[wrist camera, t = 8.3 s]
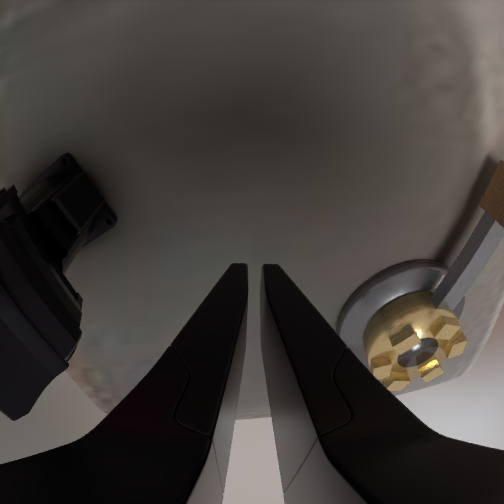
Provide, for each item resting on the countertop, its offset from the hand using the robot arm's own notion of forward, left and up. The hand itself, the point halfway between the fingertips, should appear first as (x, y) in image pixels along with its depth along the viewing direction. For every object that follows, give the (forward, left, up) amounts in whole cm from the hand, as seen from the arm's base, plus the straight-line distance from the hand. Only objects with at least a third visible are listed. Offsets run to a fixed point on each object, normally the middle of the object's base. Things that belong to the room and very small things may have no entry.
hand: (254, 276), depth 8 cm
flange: (+5, -20, -13) cm, 25 cm away
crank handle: (+10, -16, -11) cm, 22 cm away
